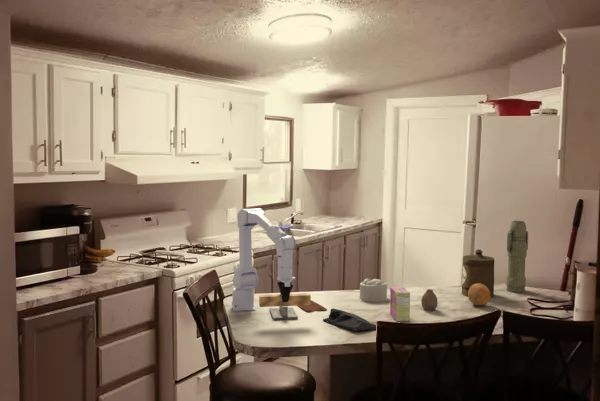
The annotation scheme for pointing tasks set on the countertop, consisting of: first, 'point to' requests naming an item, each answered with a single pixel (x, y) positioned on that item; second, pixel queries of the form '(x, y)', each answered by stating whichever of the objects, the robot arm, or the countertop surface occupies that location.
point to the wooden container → (478, 272)
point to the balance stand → (283, 313)
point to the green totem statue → (517, 256)
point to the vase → (429, 300)
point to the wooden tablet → (313, 307)
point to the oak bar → (277, 301)
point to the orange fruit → (479, 294)
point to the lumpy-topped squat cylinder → (373, 290)
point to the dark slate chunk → (349, 321)
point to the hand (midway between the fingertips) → (284, 300)
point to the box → (400, 303)
